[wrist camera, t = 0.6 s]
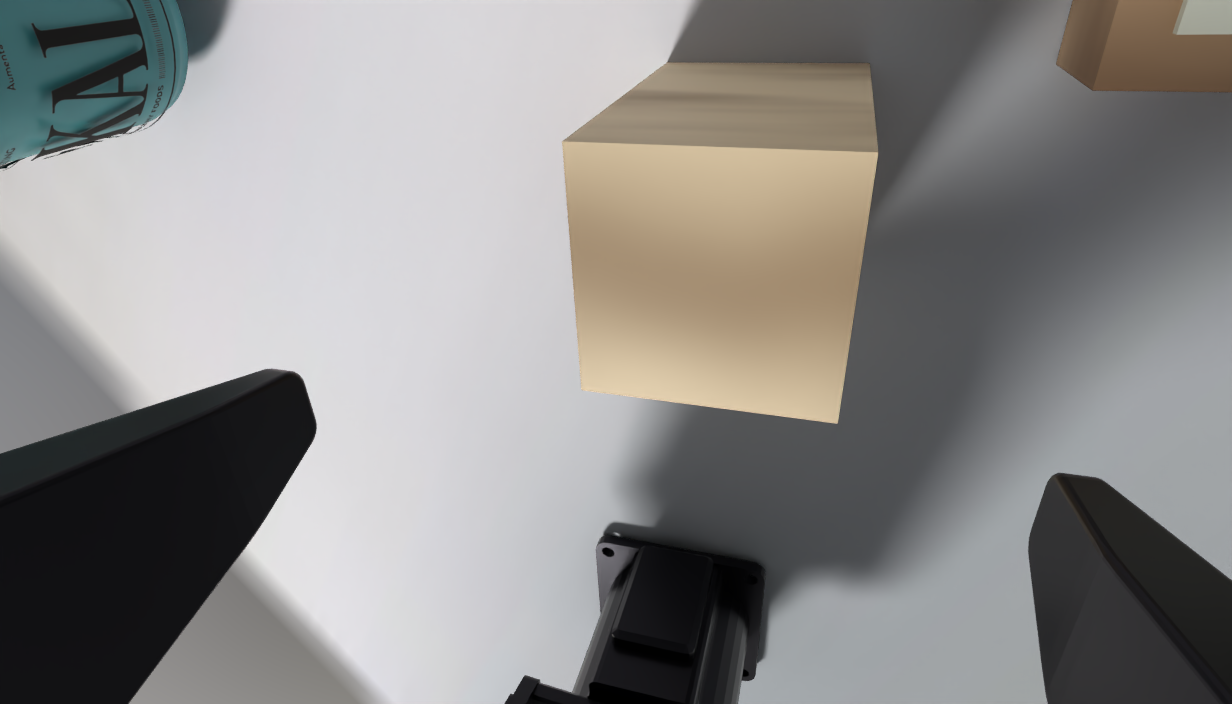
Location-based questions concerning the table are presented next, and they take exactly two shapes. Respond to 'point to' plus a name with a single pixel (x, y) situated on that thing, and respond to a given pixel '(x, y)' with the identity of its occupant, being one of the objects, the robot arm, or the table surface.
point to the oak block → (723, 235)
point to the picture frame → (1149, 45)
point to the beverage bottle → (85, 71)
